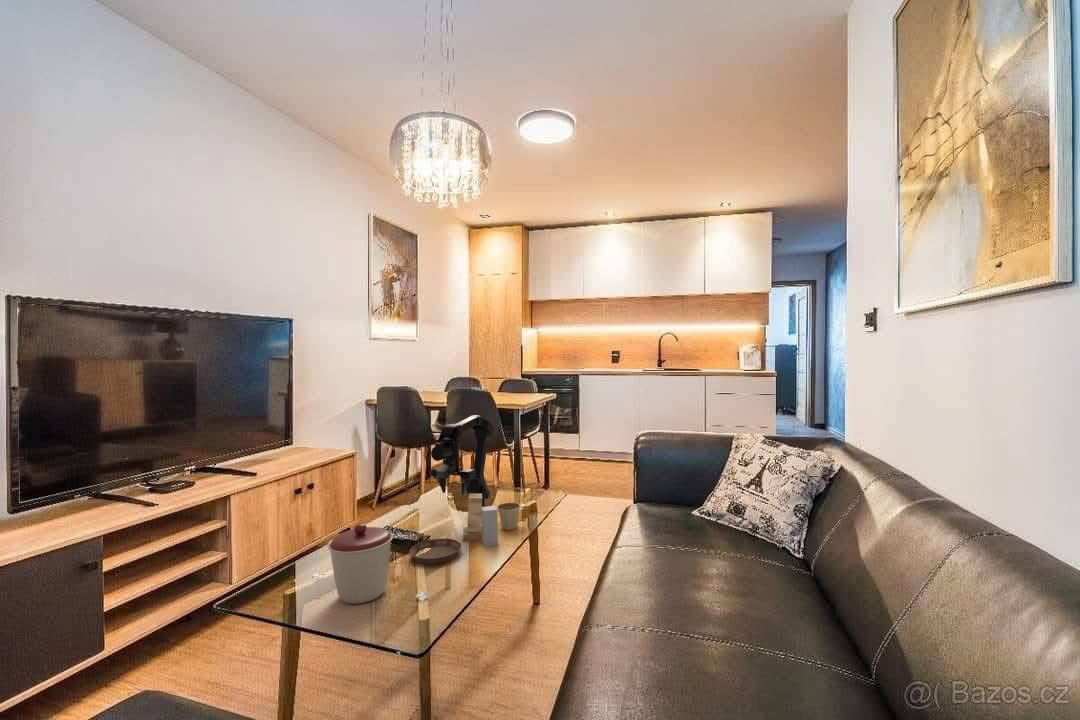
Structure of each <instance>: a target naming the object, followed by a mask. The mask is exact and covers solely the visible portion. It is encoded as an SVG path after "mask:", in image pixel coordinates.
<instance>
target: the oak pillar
mask: <svg viewBox="0 0 1080 720" xmlns="http://www.w3.org/2000/svg"><path fill="white" fill-rule="evenodd" d="M467 499H468V500H467V501H468V504H467V525H466V527H467V532H481V526H482V517H481V507H482V494H469V498H467Z"/></svg>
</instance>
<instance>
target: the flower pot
mask: <svg viewBox="0 0 1080 720" xmlns="http://www.w3.org/2000/svg"><path fill="white" fill-rule="evenodd" d="M520 508H521V504H520V503H517V502H503V503H499V504H497V506H496V509H497V512H498V513H499V514H498V515H499V517H500V518H499V519H500V524H501V529H502V530H504V529H505V530H508V531H511V529H513V530H515V529H514V528H516V529H517V528H518V522H519V513H520V512H519V511H520ZM505 530H504V531H505Z"/></svg>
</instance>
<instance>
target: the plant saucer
mask: <svg viewBox="0 0 1080 720" xmlns="http://www.w3.org/2000/svg"><path fill="white" fill-rule="evenodd" d="M425 548H431V549H430V550H429V551H427V552H425V553H422V554H420V555H419V556H416V554H417V553H418V552H419V551H420V550H423V549H425ZM461 548H462V543H461V542H460V541H459V540H456V539H452V538H431V539H428V540H423V541H421V542H418V543H416V544H415V545H413V546H412V547H411V548H410V549H409V554H410V556H411V557H412V558H413V559H414V560H415V561H416V562H419V563H421V564H426V565H436V564H441V563H446V562H448V561H451V560H452V559H454V558H455V557H456V556H457V555H458V553H460V551H461Z"/></svg>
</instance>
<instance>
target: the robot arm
mask: <svg viewBox="0 0 1080 720" xmlns="http://www.w3.org/2000/svg"><path fill="white" fill-rule="evenodd" d="M470 429H472V430H473V432H474V433H473V436H474V438H475V441H476V444H475V452H474V460H473V466H472V469H471V468H466V469H464V470H463V469H462V466H461V465H460V462H461V460H462V457H461V456H460V444H462V443H463V442H462V440H461V439H460V438H461V437H463V436H464V433H465V432H466V431H467V432H468V430H470ZM494 430H495V427H494V426H493V424H492V423H491V422H490V421H489V420H487V419H485V418H483V416H481V415H477V414H476V415H475V414H473V415H470V416H469V417H467V418H465V419H463V420H460V421H458V422H457V423H449V424H444V425H443V426H442V429H441V432H440V434H439V436H438V439H437V441H436V443H434V446H433V447H432V449H431V451H430V456H431V458H432V459H433V460H434V461H436V462H440V461H442V465H440V466H436V467H433V468H431V470H430V471H429V474H430V475H429V476H430V477H432V478H433V479H435V480H436V481H437V482H438V484H439V487H440V490H441V492H442V494H445V493H446V490H447V479H448V478H450V476H458V477H459V476H460V479H459V481H460V483H461V496H464V495H465V494H466V496H467V499H469V494H482V507H487V506H486V504H487V503H486V500H487V499H489V498H490V497H491V496H490V495H491V491H490V490H489V488H488V487H487V481H486V479H485V477H484V473H485V467H486V460H487V459H486V458H487V451H488V445H489V441H491V439H492V438H493V434H494Z"/></svg>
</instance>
